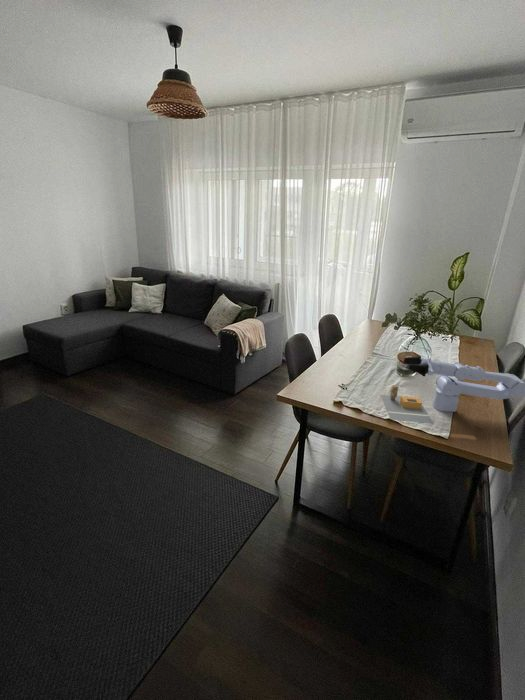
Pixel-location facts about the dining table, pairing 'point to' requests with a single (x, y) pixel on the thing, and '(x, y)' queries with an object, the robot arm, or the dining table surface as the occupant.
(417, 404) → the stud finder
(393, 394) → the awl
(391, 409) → the floor panel
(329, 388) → the dining table surface
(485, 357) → the dining table surface
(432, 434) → the dining table surface
